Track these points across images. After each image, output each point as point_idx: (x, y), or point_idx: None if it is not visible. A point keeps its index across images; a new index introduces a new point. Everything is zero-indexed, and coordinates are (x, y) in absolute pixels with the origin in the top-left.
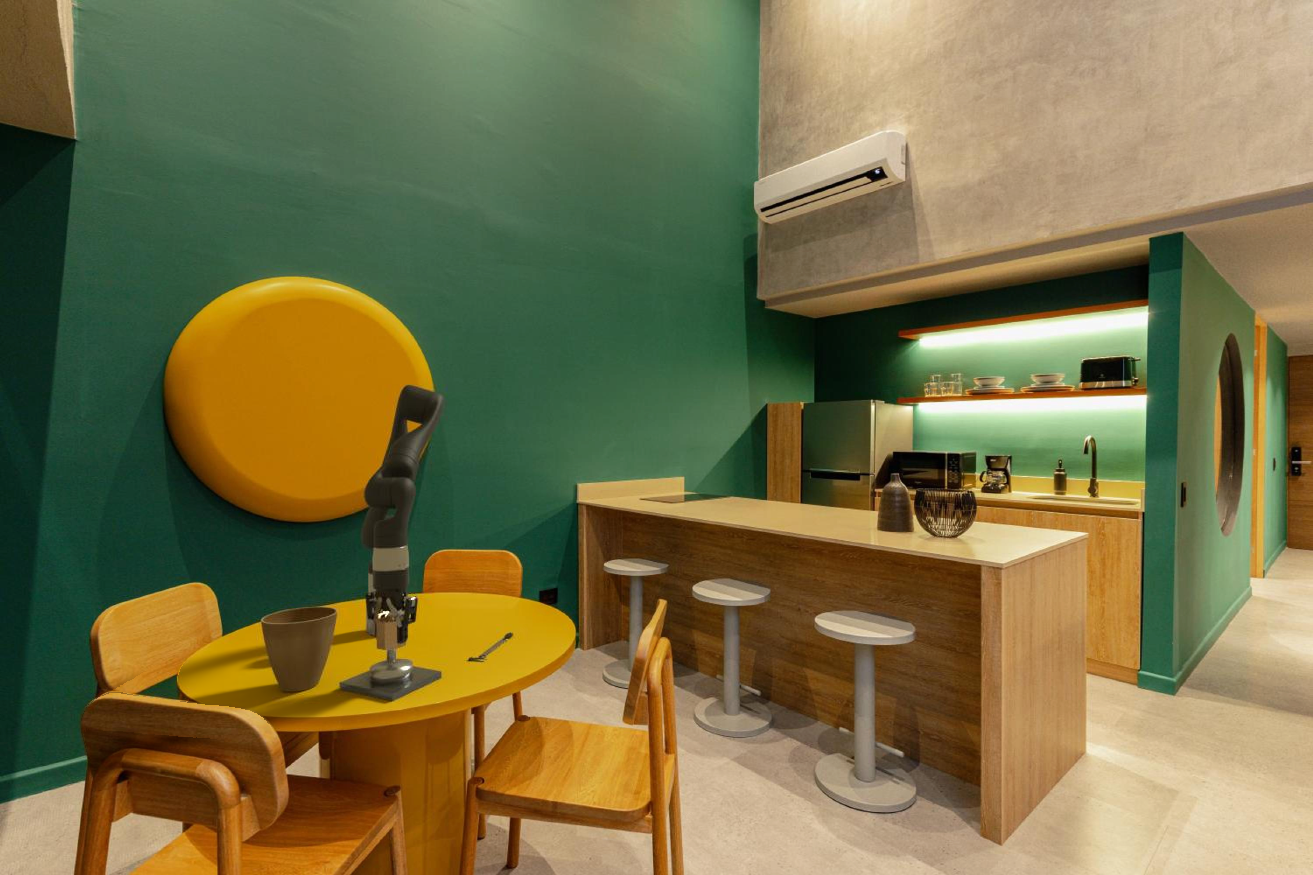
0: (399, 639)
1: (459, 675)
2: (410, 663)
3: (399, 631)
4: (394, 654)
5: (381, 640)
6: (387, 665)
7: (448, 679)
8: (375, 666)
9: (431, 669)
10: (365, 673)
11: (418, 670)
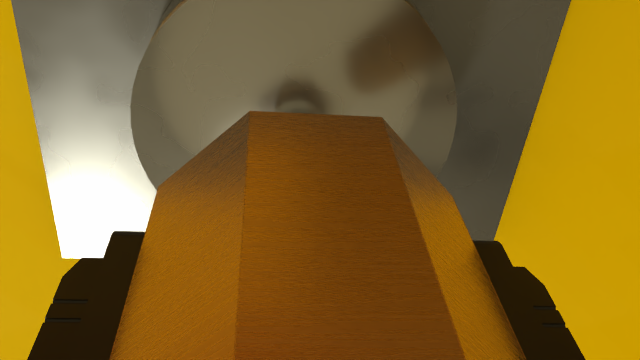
0: (105, 259)
1: (13, 283)
2: None
3: (75, 340)
4: None
5: (307, 168)
6: None
7: (15, 228)
8: (410, 77)
9: None
10: (520, 79)
11: None
